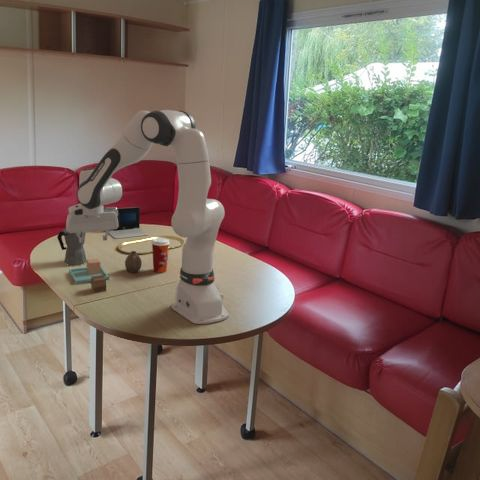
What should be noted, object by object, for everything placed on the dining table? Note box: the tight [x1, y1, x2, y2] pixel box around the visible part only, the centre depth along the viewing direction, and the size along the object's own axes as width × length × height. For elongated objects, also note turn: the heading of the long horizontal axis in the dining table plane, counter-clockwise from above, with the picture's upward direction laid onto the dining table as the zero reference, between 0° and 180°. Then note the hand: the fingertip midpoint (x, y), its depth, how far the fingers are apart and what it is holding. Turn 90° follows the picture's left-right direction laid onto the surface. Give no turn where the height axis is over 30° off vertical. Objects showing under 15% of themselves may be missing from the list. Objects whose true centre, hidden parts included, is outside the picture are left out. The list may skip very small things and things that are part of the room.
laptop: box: [109, 206, 149, 240], centre depth 254 cm, size 18×12×13 cm
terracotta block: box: [86, 258, 101, 275], centre depth 199 cm, size 4×4×5 cm
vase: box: [124, 250, 143, 274], centre depth 204 cm, size 7×7×9 cm
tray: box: [68, 265, 110, 285], centre depth 197 cm, size 13×13×2 cm
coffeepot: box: [57, 227, 88, 266], centre depth 208 cm, size 15×9×18 cm, turn 150°
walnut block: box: [90, 275, 107, 293], centre depth 185 cm, size 4×4×5 cm
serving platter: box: [117, 235, 185, 256], centre depth 239 cm, size 19×35×2 cm, turn 133°
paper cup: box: [150, 238, 171, 274], centre depth 206 cm, size 8×8×14 cm
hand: (93, 241), depth 196 cm, fingers open, 8 cm apart
